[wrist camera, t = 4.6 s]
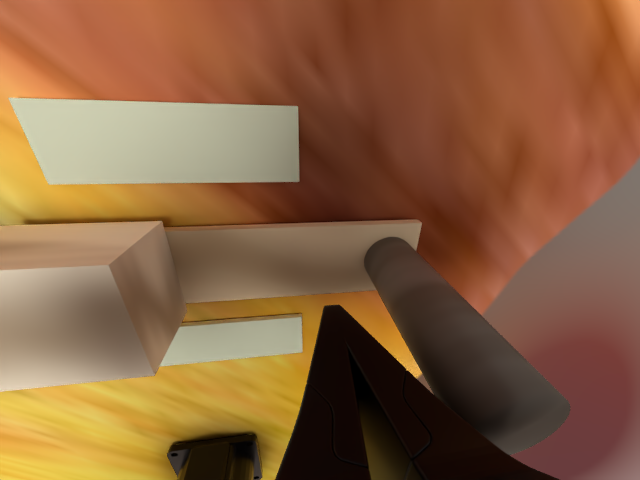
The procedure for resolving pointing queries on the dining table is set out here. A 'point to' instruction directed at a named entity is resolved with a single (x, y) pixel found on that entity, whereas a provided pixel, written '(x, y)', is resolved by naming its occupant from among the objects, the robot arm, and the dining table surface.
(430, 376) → the sled
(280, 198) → the dining table surface
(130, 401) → the dining table surface
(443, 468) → the robot arm
